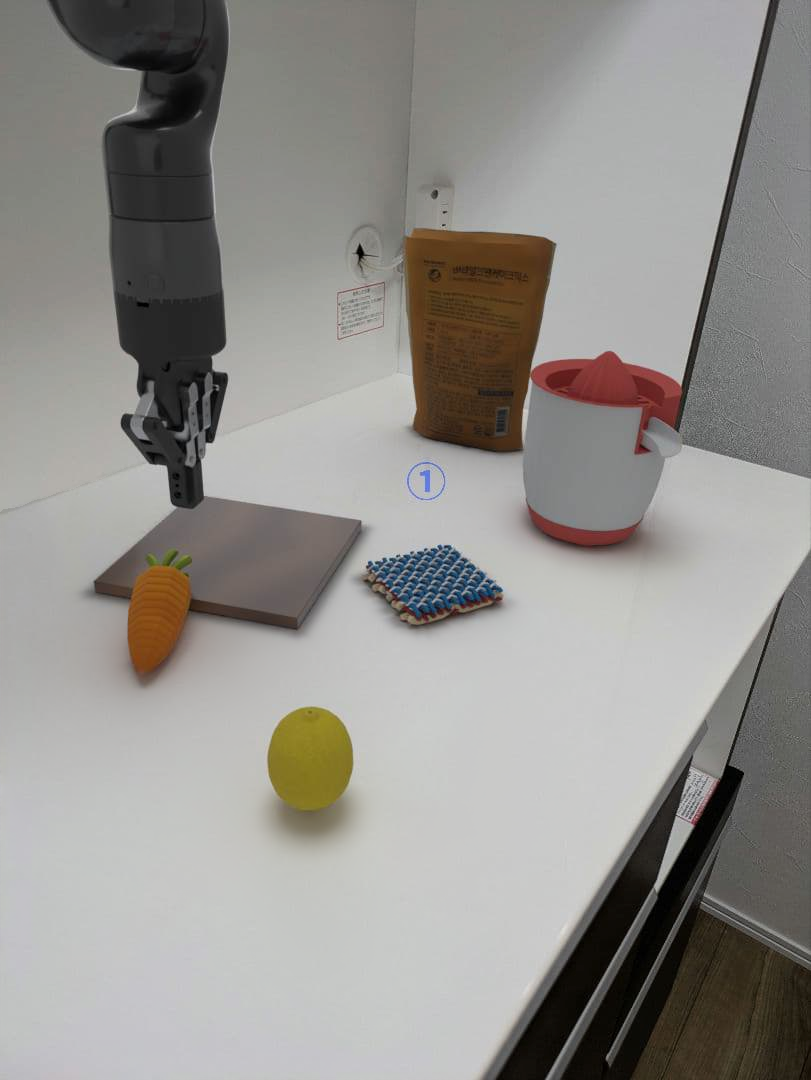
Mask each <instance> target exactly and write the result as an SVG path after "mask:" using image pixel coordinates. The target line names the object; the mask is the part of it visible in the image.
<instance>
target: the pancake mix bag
mask: <svg viewBox="0 0 811 1080" xmlns="http://www.w3.org/2000/svg"><path fill="white" fill-rule="evenodd" d="M557 245H558V243H556V242H555V241H553V240H551V239H549V238H547V237H546V236H540V235H532V234H524V233H513V232H512V233H511V232H498V231H482V230H481V231H461V230H460V231H457V230H450V229H436V228H427V227H413V229H412V233H411V236H410V235H407V234H403V239H402V249H401V251H402V252H401V253H402V254H401V255H402V256H401V258H402V263H403V270H404V273H403V274H404V290H405V291H404V292H405V293H404V295H405V312H406V317H407V331H408V332H407V333H408V340H409V350H410V358H411V370H412V371H411V373H412V374H411V375H412V386H413V392H414V399H415V406H416V409H415V413H414V417H413V421H412V429H414V430H415V431H416V432H417V434H419V435H420V436H421V437H424V438H426V439H430V440H434V441H440V442H446V443H451V444H456V445H461V446H466V447H473V448H477V449H482V450H487V451H490V452H495V453H505V452H514V451H517V450H521V449H522V450H523V449H524V443H523V442H524V441H523V415H524V407H525V401H526V398H527V395H528V391H529V384H530V379H531V378H530V374H531V371H532V366H533V360H534V357H535V352H536V351H537V346H538V342H539V337H540V333H541V328H542V323H543V318H544V311H545V304H546V298H547V293H548V290H549V287H550V284H551V278H552V269H553V265H554V259H555V253H556V248H557Z"/></svg>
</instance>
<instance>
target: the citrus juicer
mask: <svg viewBox="0 0 811 1080" xmlns="http://www.w3.org/2000/svg"><path fill="white" fill-rule="evenodd" d="M530 379H531V388H530V396H529V403H528V410H527V411H528V412H527V420H526V428H525V436H524V443H523V453H522V454H523V456H522V477H523V478H522V479H523V487H524V492H525V502H526V506H527V509H528V513H529V516H530V518H531V522H532V523H533V524H534V526H535V527H537V528H538V529H539V530H540V531H542V532H543V533H545V534H547V535H549V536H551V537H553V538H556V539H559V540H562V541H565V542H569V543H573V544H578V545H580V546H584V547H591V546H603V545H604V546H605V545H611V544H617V543H620V542H622V541H624V540H625V541H626V540H627V539H629V538H630V537H631V536H632V535H633V533H634V532H635V531H636V529H637V528H638V527H639V526H640V524H641V523H642V521H643V520H644V517H645V514H646V512H647V510H648V509H649V507H650V505H651V503H652V501H653V499H654V496H655V494H656V491H657V489H658V486H659V484H660V480H661V477H662V473H663V469H664V466H665V462H666V459H668V458H669V459H670V458H673V457H675V456H677V455H679V454H680V452H681V450H682V448H683V438H682V436H681V435H680V434H679V433H678V431H676V430H675V426H676V425H675V424H676V420H677V416H678V412H679V406H680V402H681V398H682V395H683V389H682V386H681V384H680V383H679V382H678V381H676V380H675V379H674V378H673V377H670V376H669V375H666V374H665V373H662V372H660V371H657V370H655V369H651V368H648V367H644V366H641V365H637V364H632V363H627V362H623V361H622V359H621V358H620V357H619V356H618V355H617V354H616V353H615V352H614V351H612V350H606V351H604V352H603V353H601V354H600V355H598V356H597V357H595V358H568V359H566V358H565V359H557V360H551V361H547V362H544V363H541V364H538V365H536V366H535V367H534V368H532V369H531V373H530Z"/></svg>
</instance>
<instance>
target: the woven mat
mask: <svg viewBox="0 0 811 1080" xmlns="http://www.w3.org/2000/svg"><path fill="white" fill-rule="evenodd" d="M462 554H463V552H462V551H461V552H459V550H457V549H456V547H455V546H454V547H452V545H451V544H445V545H442V544H441V543H440V544H437V547H431V548H430V549H428V547H425V548H423V550H418V551H416V552H415V551H414V550H412V551H409V554H406V553H405V554H402V556H401V554H400V553H399V554H396V555H395V557H389V558H388V559H387V557H386V556H384V557H382V558H381V560H376V561H374V563H373V561H372V560H368V561H367V564H366V565H365V572H366V573H364V574H362V575H361V578H362V580H363V581H365V580H368V581H369V582H371V583H373V582H374V583H373V584H372V586H371V588H372V591H373V592H374V593H375V592H379V593H381V594H383V595H386V596H385V598H386V600H387V601H388V602H391V603H390V605H391V607H392V609H396V610H398V612H400V611H402V612H403V611H406V612H404V613H401V614H399V618H400V620H401V621H407V622H408V623H409V624H411V625H417V626H420V625H423V624H427V623H432V622H435V621H439V620H442V619H444V618H446V617H448V616H450V614H451V613H452V614H457V613H468V612H471V611H474V610H477V609H481V608H483V607H486V606H489V605H492V604H493V603H494V602H501V601H503V599H504V594H503V591H504V589H503V588H502V586H500V585H499V584H497V582H498V581H497V580H496V579H494V580H493V579H492V578H491V577H487V575H488V573H487V572H484V571H482V570H480V567H479V566H475V564H474V563H473V562H471V561H472V560H471V559H470V558H467V557H465V556H463V555H462Z"/></svg>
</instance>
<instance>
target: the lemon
mask: <svg viewBox="0 0 811 1080" xmlns="http://www.w3.org/2000/svg"><path fill="white" fill-rule="evenodd" d="M352 743H353V742H352V740H351V737H350V733H349V732H348V729H347V727H346V725H345V724H344V722H343V721H342V720H341V719H340V717H339V716H337V715H336V714H335V713H333V712H331V711H330V710H328V709H326V708H323V707H319V706H304V707H300V708H297V709H294V710H293V711H291V712H289V713H288V714H287V715H285V716H284V717H283V718H282V719H281V720H280V721H279V722H278V724H277V725H276V727H275V728H274V730H273V733H272V735H271V738H270V741H269V746H268V749H267V755H266V756H267V771H268V777H269V781H270V783H271V785H272V787H273V790H274V791H275V793H276V794H277V796H278V797H279V798H280V799H281V800H282V801H283V802H284V803H285V804H287V805H289V806H290V807H292V808H294V809H297V810H300V811H305V812H306V811H307V812H309V811H318V810H323V809H325V808H327V807H329V806H331V805H333V804H334V803H335V802H336V801H338V800H339V798H341V797H342V795H343V794H344V792H345V791H346V789H347V788H348V786H349V784H350V780H351V778H352V774H353V770H354V750H353V744H352Z"/></svg>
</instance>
